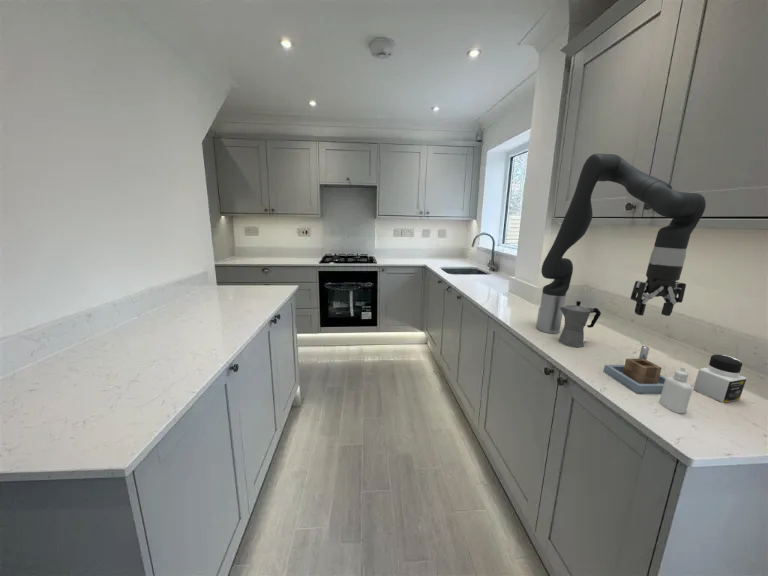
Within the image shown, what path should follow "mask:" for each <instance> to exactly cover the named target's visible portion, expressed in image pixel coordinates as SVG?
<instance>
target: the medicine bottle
mask: <svg viewBox="0 0 768 576" xmlns="http://www.w3.org/2000/svg"><path fill="white" fill-rule="evenodd" d="M742 367H743V362H742V360H739V359H738V358H735V357H732V356H729V355H725V354H713V355H711V356H710V360H709V363H708V366H707V367H703V368H699V369H698V373H697V375H696V378H695V382H694V385H693V387H692V390H694V391H696V392H697V391H698V393H700V394H702V395H704V396H706V395H707V397H708V398H711V399H713V398H714V400H715V399H716V401H718V402H720V403H723V404H726V403H729V402H734V401H739V400H740V399H741V397H742V393H743V390H744V387H745V384H746V382H747V377H745V376H742V375H740V373H741V369H742Z"/></svg>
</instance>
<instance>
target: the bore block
mask: <svg viewBox="0 0 768 576" xmlns="http://www.w3.org/2000/svg"><path fill="white" fill-rule="evenodd" d="M624 365H625V366H624V370H623V374H624V375H626V376H627V377H629V378H631V379H632V380H634V381H636V382H637V383H639V384H658V380H659V376H660V375H661V372H662V366H659V365H658V364H655V363H653V362H651V361H650V360H648V359H639V358H625V363H624Z"/></svg>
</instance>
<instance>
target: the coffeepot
mask: <svg viewBox="0 0 768 576" xmlns="http://www.w3.org/2000/svg"><path fill="white" fill-rule="evenodd" d="M581 303H582V302H581V301H579V300H577V301H576V304H571V305H568V304H567V305H564V307H560V308H559V309H560V310H561V311H562V313H563V315H562V316H563V317H564V326H563V328H562V331H561V333H560V335H559V338H558V342H559V343H560V344H562V345H565V346H567V347H571V348H577V349H579V348H584V345H585V343H584V342H585V340H584V337H585V334H584V333H585V330H584V328H585V327H586V326H587V328H594V326H595V324H596V323H597V322H598V319H599V318H600V316H601V314H602V313H601V311H600V310H599V308H597V307H584V306H583V305H581ZM591 313H592V314H593V313H595V314H594V315H593V319H592V320H591V322H590V324H587V321H588V320H589V317H590V315H591Z"/></svg>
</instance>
